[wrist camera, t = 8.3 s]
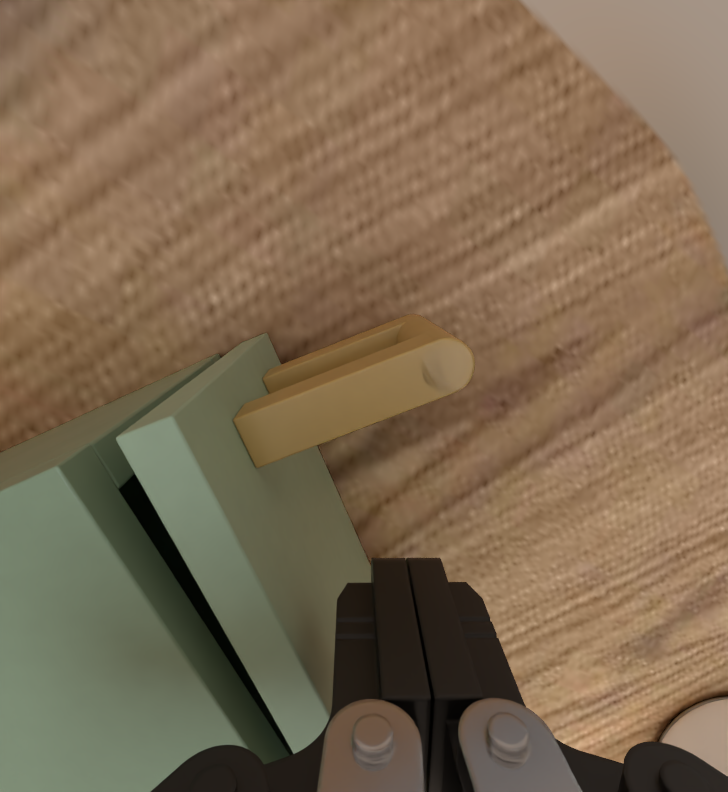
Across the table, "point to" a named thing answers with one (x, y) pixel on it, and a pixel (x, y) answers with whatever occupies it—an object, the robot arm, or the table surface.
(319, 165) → the table surface
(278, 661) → the cabinet door
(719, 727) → the can
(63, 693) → the cabinet
